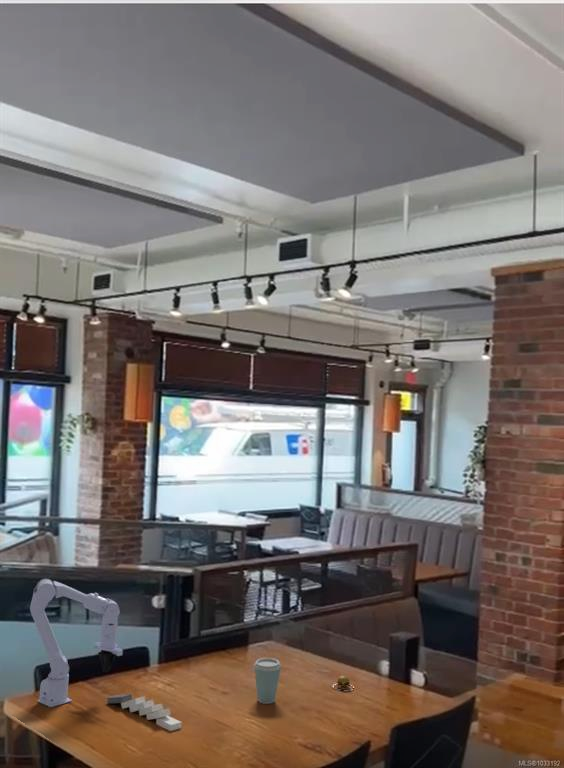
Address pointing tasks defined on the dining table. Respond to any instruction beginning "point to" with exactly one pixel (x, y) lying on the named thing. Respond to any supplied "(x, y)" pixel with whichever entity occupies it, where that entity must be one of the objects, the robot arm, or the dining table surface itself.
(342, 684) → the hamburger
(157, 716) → the tile
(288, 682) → the dining table surface
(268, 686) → the disposable coffee cup
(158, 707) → the tile
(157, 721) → the tile
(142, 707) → the tile
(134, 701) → the tile
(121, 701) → the tile
